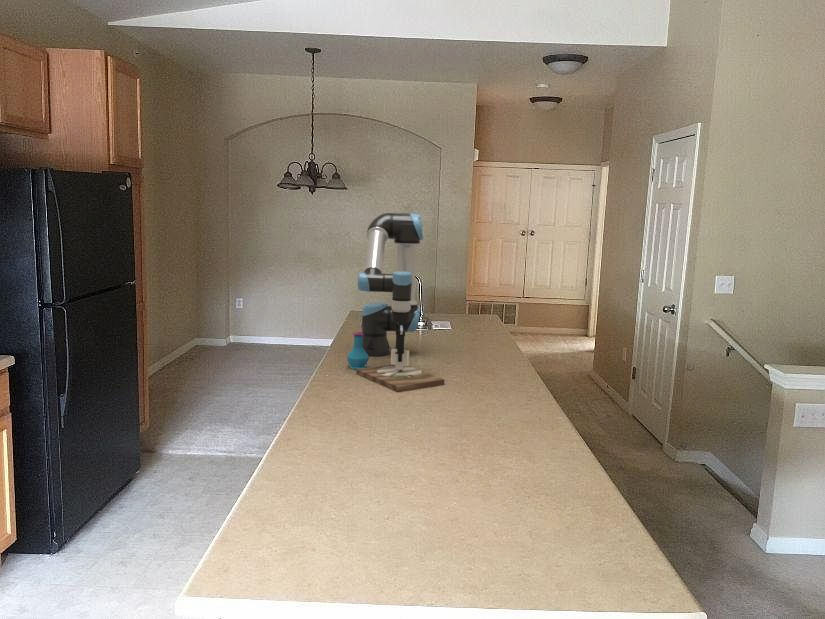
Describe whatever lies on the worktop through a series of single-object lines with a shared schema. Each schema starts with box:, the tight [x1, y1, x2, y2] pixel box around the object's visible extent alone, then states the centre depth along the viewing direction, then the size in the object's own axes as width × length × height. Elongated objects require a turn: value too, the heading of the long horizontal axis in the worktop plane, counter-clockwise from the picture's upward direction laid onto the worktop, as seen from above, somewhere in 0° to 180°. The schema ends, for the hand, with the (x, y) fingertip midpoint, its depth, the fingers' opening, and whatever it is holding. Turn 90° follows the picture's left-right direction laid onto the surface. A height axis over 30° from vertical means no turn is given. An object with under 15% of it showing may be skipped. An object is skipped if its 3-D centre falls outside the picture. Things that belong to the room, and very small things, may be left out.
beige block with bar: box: [390, 348, 410, 376], centre depth 261 cm, size 7×11×9 cm, turn 160°
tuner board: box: [355, 364, 446, 393], centre depth 262 cm, size 30×22×2 cm
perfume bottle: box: [346, 331, 370, 370], centre depth 278 cm, size 9×9×15 cm
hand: (399, 368), depth 265 cm, fingers closed on beige block with bar, 4 cm apart
